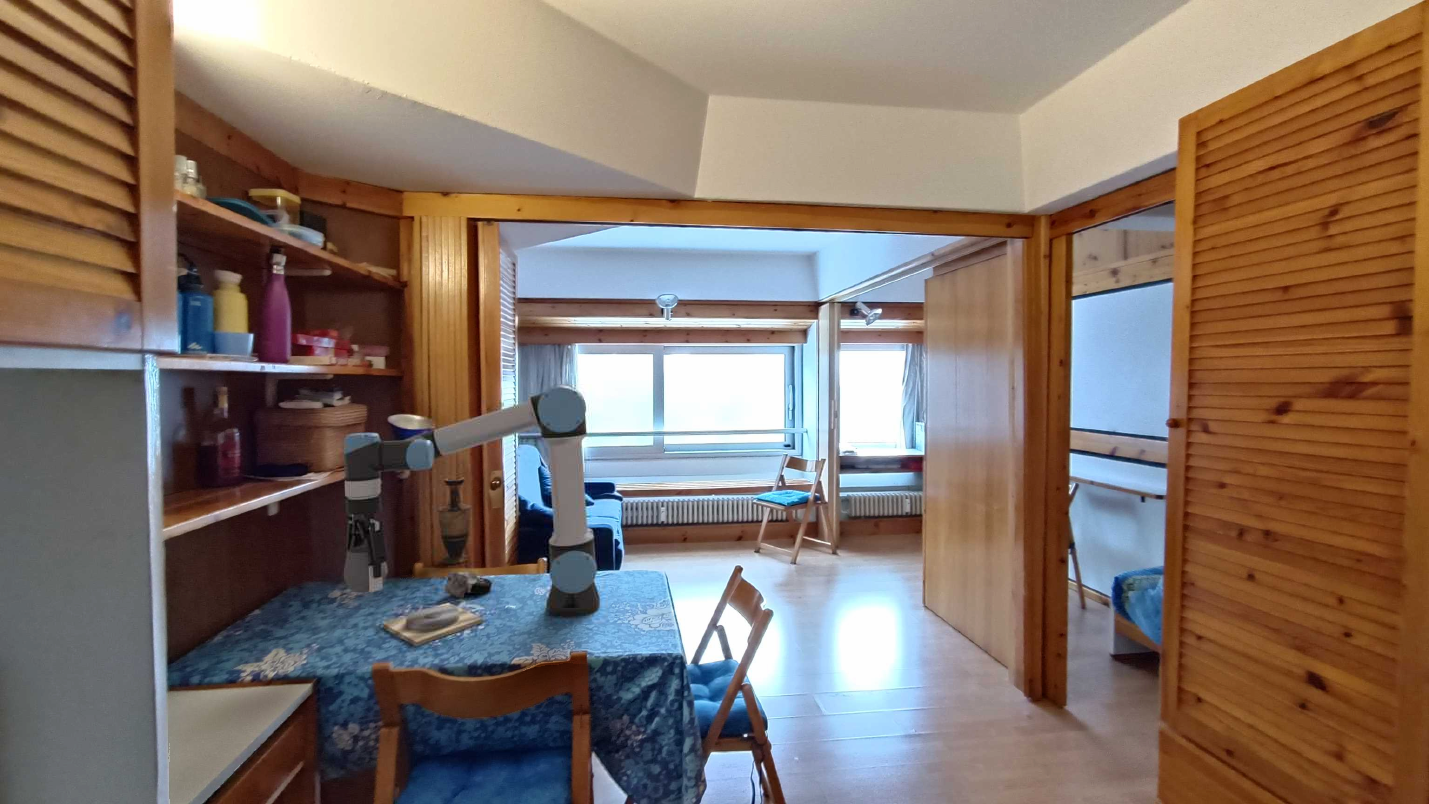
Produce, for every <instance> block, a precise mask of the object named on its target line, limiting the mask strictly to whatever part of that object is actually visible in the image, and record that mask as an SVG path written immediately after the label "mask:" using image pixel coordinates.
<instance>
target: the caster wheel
mask: <svg viewBox="0 0 1429 804" xmlns="http://www.w3.org/2000/svg"><path fill="white" fill-rule="evenodd" d="M492 586H493V582H492V581H491V579H488V578H484V577H479V576H478V575H477V574H475V573H474V572H473V571H470V570H465V571H461V572H455V571H452V570H449V573H448V576H447V581H446V583H445V588H444V593H445V594H447V595H450V596H454V597H456V598H460V599H464V596H465V593H469V594H471V593H472V594H473V593H474V594H488V593H489V592H491V590H492Z"/></svg>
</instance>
